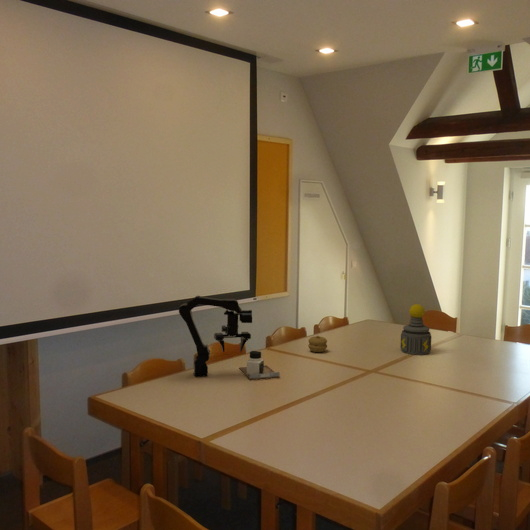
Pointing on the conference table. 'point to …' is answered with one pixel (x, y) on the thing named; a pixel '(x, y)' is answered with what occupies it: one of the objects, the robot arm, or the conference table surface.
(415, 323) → the decorative lamp
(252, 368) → the medicine bottle
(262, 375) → the price rail
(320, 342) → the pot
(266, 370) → the shelf board
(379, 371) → the conference table surface
